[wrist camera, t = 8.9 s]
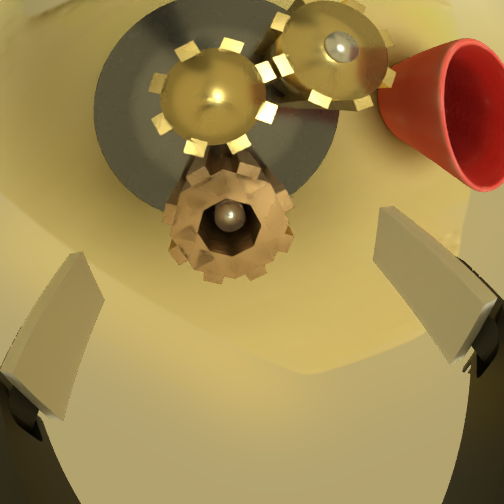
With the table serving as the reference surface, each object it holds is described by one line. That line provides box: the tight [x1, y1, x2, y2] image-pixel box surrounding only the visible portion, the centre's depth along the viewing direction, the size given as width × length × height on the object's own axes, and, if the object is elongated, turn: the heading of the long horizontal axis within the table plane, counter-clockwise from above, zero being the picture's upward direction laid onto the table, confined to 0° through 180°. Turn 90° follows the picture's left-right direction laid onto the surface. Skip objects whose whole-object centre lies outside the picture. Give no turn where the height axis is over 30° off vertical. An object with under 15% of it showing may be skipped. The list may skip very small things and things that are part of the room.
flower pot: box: [378, 38, 504, 192], centre depth 14 cm, size 11×11×10 cm
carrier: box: [94, 0, 396, 232], centre depth 14 cm, size 18×20×8 cm
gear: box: [162, 150, 294, 284], centre depth 17 cm, size 7×7×6 cm
